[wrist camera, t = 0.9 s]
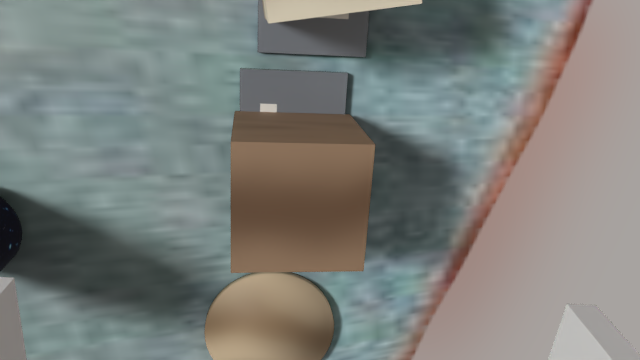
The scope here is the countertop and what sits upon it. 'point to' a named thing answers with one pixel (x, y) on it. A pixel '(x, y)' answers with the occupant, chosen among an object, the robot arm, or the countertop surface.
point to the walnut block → (299, 192)
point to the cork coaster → (269, 319)
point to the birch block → (323, 8)
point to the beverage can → (8, 233)
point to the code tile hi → (315, 35)
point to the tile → (292, 91)
